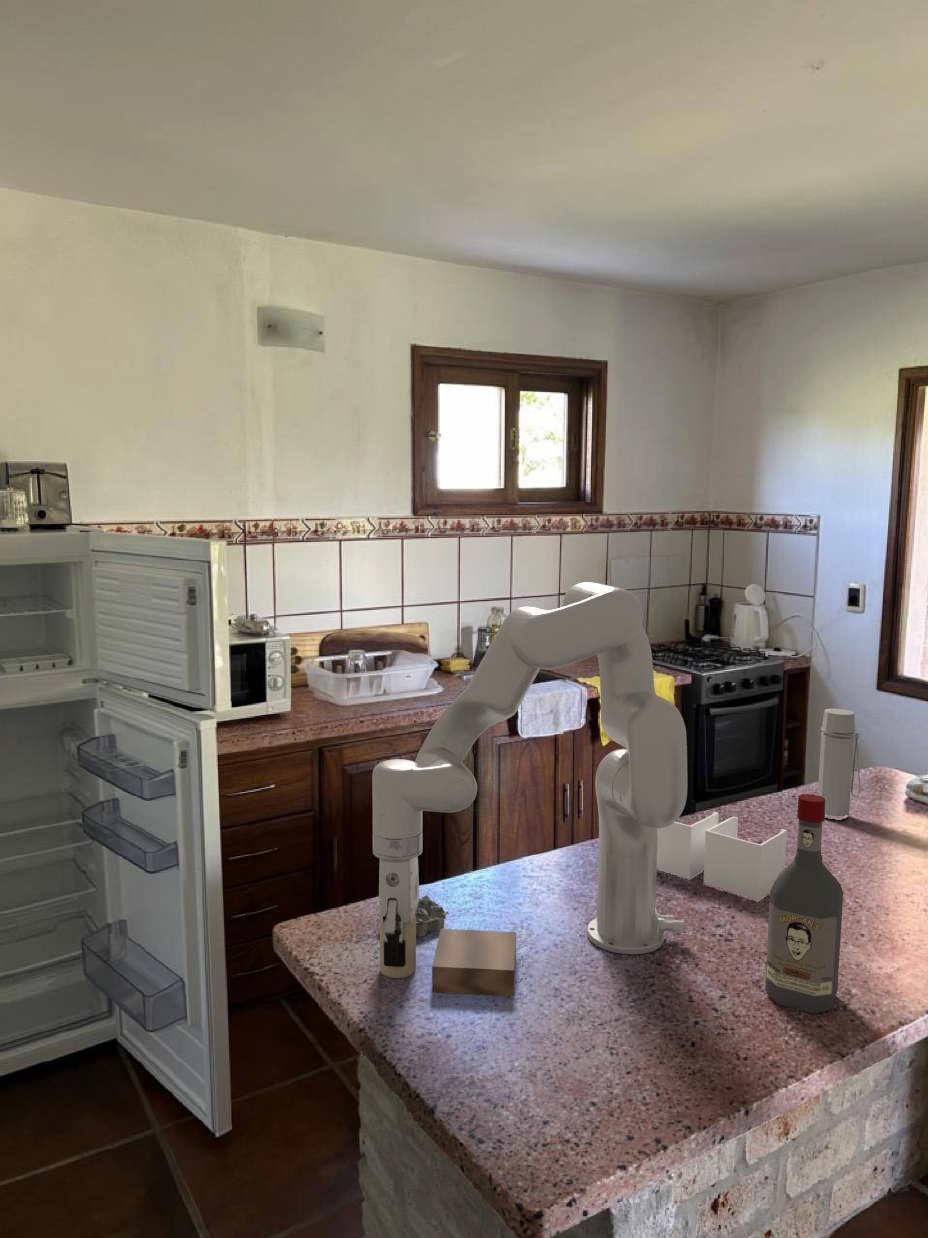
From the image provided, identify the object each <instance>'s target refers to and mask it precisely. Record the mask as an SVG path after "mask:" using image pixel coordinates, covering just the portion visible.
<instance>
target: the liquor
mask: <svg viewBox="0 0 928 1238" xmlns="http://www.w3.org/2000/svg"><path fill="white" fill-rule="evenodd" d="M796 815H797V816H796V817H797V819H798V827H797V828H798V829H797V842H796V853H795V856H794V857H793V858H794V860H792V862H791V863H789V864H788V865H786V866H785V869H784V870H783V871H782V872H781V873H780V874H779V876H778V877H777V879H776V881H775V882H774V884H773V886H772V888H771V891H770V895H769V902H768V903H769V906H768V907H769V909H768V925H767V926H768V927H767V929H768V930H767V946H766V948H767V949H766V968H765V988H764V989H765V991H766V994H767V996H768V997H769V998H770V999H772V1001H774V1002H775V1003H776V1005H778V1004H780V1005H779V1006H782V1005H784V1006H783V1007H785V1006H786V1007H787V1008H789V1007H790V1009H793V1008H794V1010H796V1009H797V1010H798V1011H800V1010H801V1011H800V1012H804V1011H805V1012H804V1013H807V1012H809V1014H811V1013H813V1014H812V1015H815V1014H814V1013H817V1014H820V1013H819V1012H824V1013H826V1012H825V1011H829V1012H830V1010H831V1009H832V1007H833V1004H834V1001H835V998H836V996H837V993H838V989H839V988H838V987H839V986H838V985H839V974H840V973H839V971H840V953H841V938H842V937H841V936H842V919H843V906H844V905H843V902H844V891H843V888H842V887H843V886H842V885H841V883H840V882H839V881H838V879H837V878H836V877H835V876H834V874H833V873H832V872H831V871H830V870H829V869H828V868H827V866H826V865H825V864H824V863H823V856H822V839H823V837H822V836H823V835H822V834H823V822H825V820H826V819H825V798H823V797H821V796H818V794H812V793H803V794H799V795H798V797H797V814H796ZM786 1007H785V1008H786Z"/></svg>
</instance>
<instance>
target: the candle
mask: <svg viewBox="0 0 928 1238" xmlns="http://www.w3.org/2000/svg"><path fill="white" fill-rule="evenodd" d="M396 920H401V918H400V917H396ZM399 929H400V925H396V930H398V931H399ZM384 936H385V923H382V922H381V921H380V920H379V967H380V968H379V969H380V970H379V971H380V973H381V974H382V975H383V976H385V977H387V978H390V979H404V978H407V977H410V976H412V975H413V974H414V973H415V972H416V969H417V968H416V967H417V966H416V965H417V935H416V915H415V916H414V919H413V922H412V923H411V924H409V925H408V924H407V923H404V938H403V940H405V959H406V963H405V966H404V967H392V966H385V965H384Z"/></svg>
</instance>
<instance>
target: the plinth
mask: <svg viewBox="0 0 928 1238" xmlns="http://www.w3.org/2000/svg"><path fill="white" fill-rule="evenodd" d="M439 931H440V932H439V935H438V940H437V945H436V950H435V953H434V956H433V957H434V958H433V961H432V966H431V972H432V973H431V983H432V984H431V990H432V991H431V992H432V993H437V994H438V993H439V994H440V993H442V994H460V995H461V994H463V995H483V996H502V997H504V996H505V997H515V979H516V975H515V974H516V960H517V957H516V956H517V931H502V930H501V931H499V930H497V931H496V930H478V929H477V930H476V929H475V930H474V929H457V928H456V929H455V928H454V929H452V928H443V929H441V930H439Z"/></svg>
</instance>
